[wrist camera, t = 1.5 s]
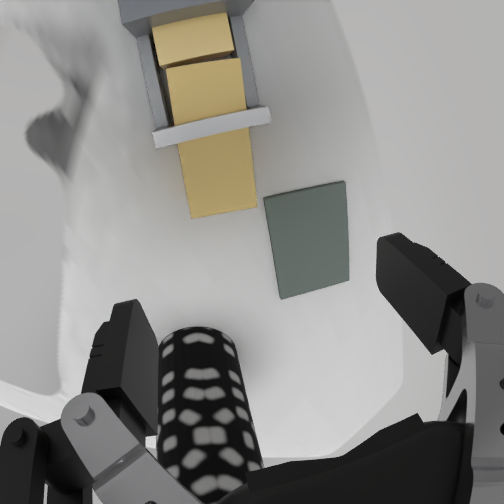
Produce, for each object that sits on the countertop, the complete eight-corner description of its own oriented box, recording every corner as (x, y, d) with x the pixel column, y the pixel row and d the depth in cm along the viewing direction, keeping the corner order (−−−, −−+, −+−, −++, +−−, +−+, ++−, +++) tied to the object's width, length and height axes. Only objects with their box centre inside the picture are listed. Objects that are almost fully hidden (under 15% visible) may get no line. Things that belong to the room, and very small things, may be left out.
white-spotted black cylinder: (197, 312, 30) (228, 530, 12) (252, 354, 34) (304, 533, 16) (140, 356, 31) (138, 546, 14) (196, 390, 35) (219, 555, 18)
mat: (263, 197, 26) (264, 199, 25) (343, 180, 26) (345, 182, 26) (279, 297, 31) (280, 299, 30) (347, 278, 31) (349, 280, 31)
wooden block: (170, 72, 20) (166, 68, 17) (232, 63, 21) (240, 57, 17) (190, 199, 25) (191, 218, 21) (247, 189, 25) (257, 207, 22)
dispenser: (128, -24, 15) (109, -61, 9) (223, -43, 16) (237, -85, 10) (161, 137, 22) (151, 155, 16) (255, 116, 23) (281, 125, 16)
